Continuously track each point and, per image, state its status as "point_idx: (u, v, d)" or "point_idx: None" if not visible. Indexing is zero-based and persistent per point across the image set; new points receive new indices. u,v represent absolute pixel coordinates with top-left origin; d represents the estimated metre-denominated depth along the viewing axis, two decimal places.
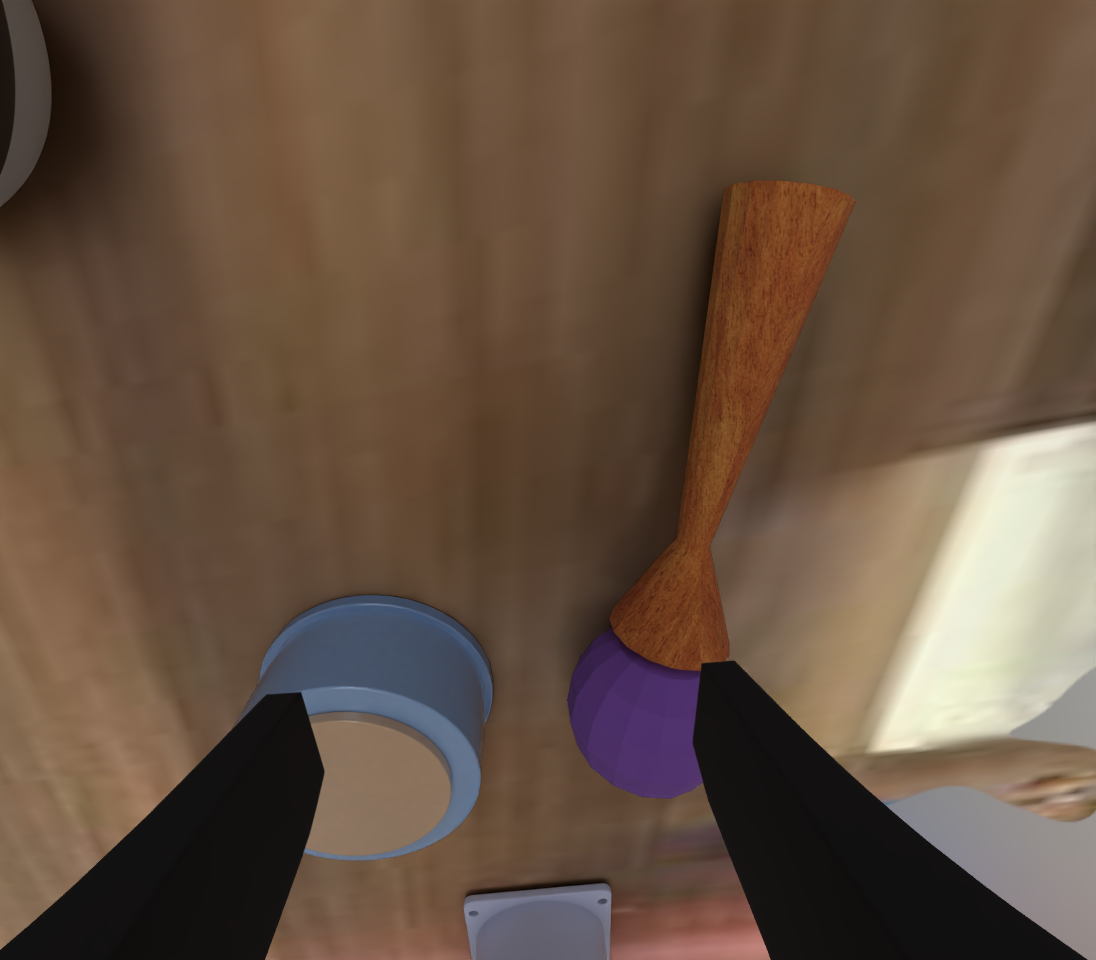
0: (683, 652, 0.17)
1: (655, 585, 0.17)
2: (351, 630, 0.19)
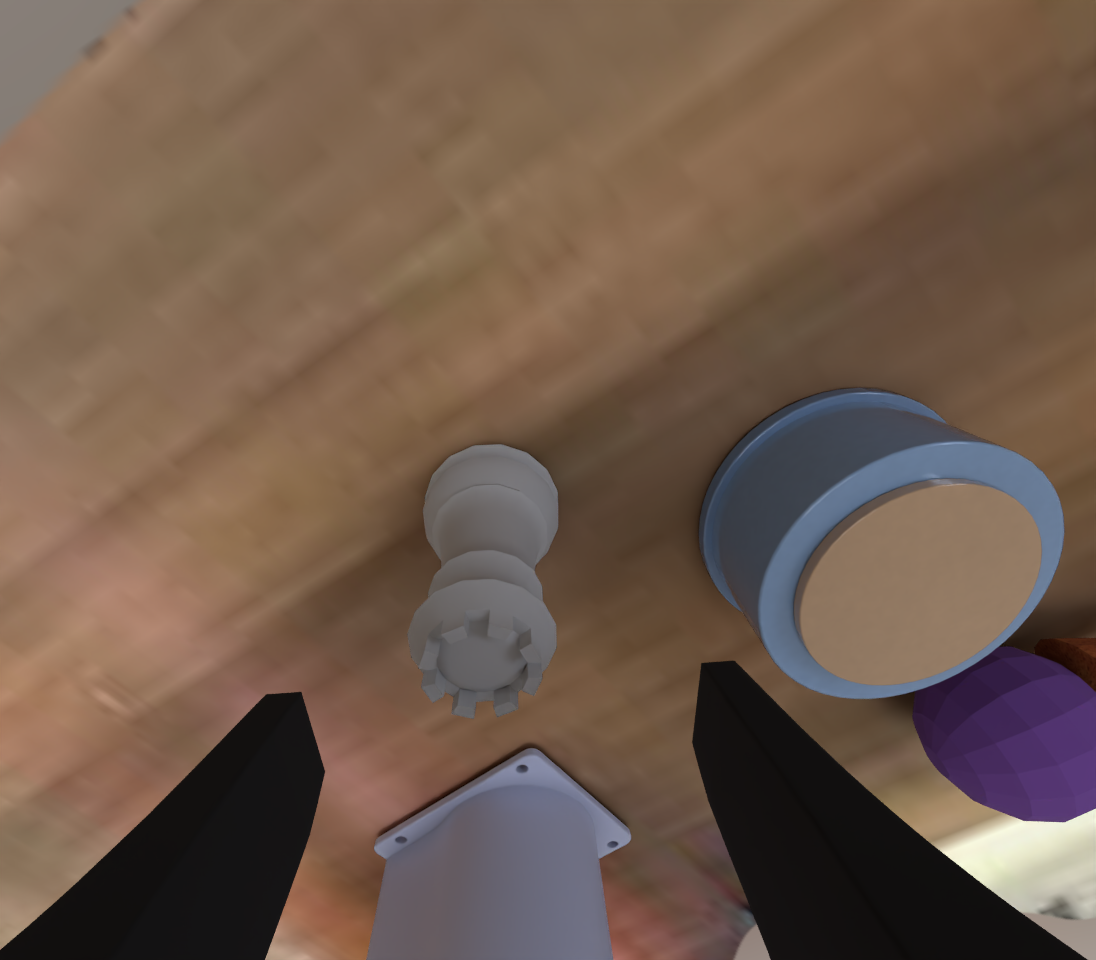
0: None
1: None
2: None
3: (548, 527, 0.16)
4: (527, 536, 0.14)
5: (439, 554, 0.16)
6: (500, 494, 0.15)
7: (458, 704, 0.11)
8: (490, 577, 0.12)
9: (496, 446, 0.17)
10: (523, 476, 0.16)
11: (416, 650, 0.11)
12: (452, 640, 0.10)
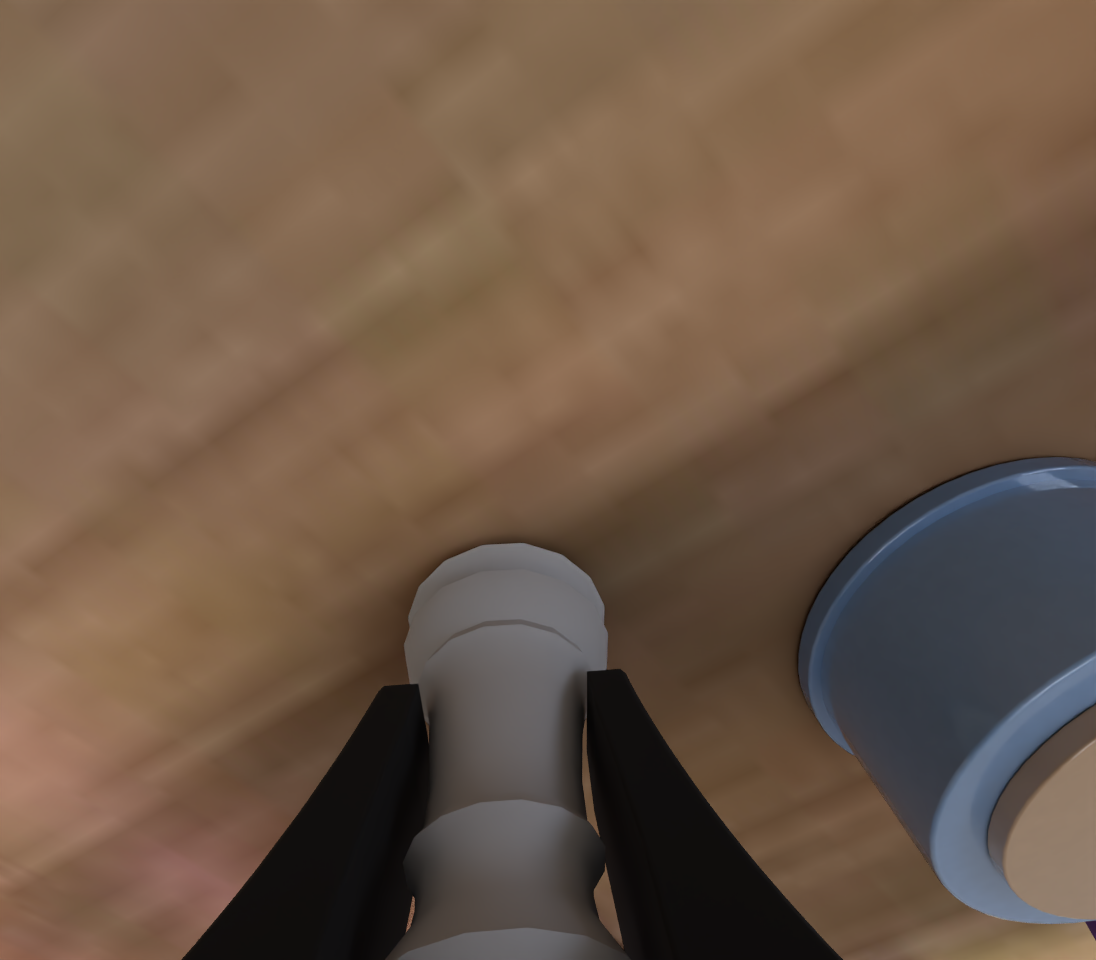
0: None
1: None
2: None
3: None
4: (571, 722, 0.09)
5: (428, 721, 0.10)
6: (524, 641, 0.09)
7: None
8: (518, 878, 0.06)
9: (516, 546, 0.11)
10: (559, 602, 0.10)
11: None
12: None
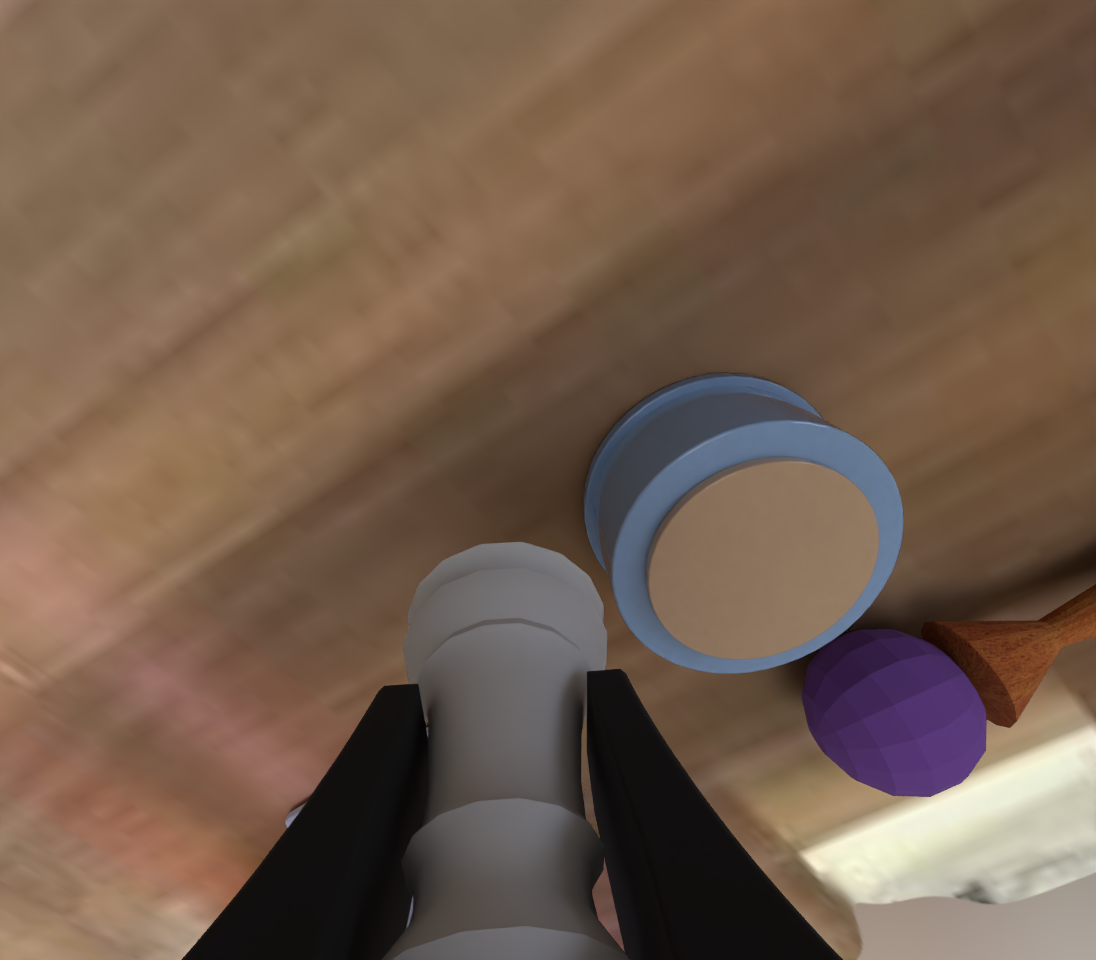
0: (1022, 700, 0.19)
1: (1022, 638, 0.19)
2: None
3: None
4: (570, 720, 0.09)
5: (427, 720, 0.10)
6: (524, 641, 0.09)
7: None
8: (516, 877, 0.06)
9: (515, 545, 0.11)
10: (558, 601, 0.10)
11: None
12: None
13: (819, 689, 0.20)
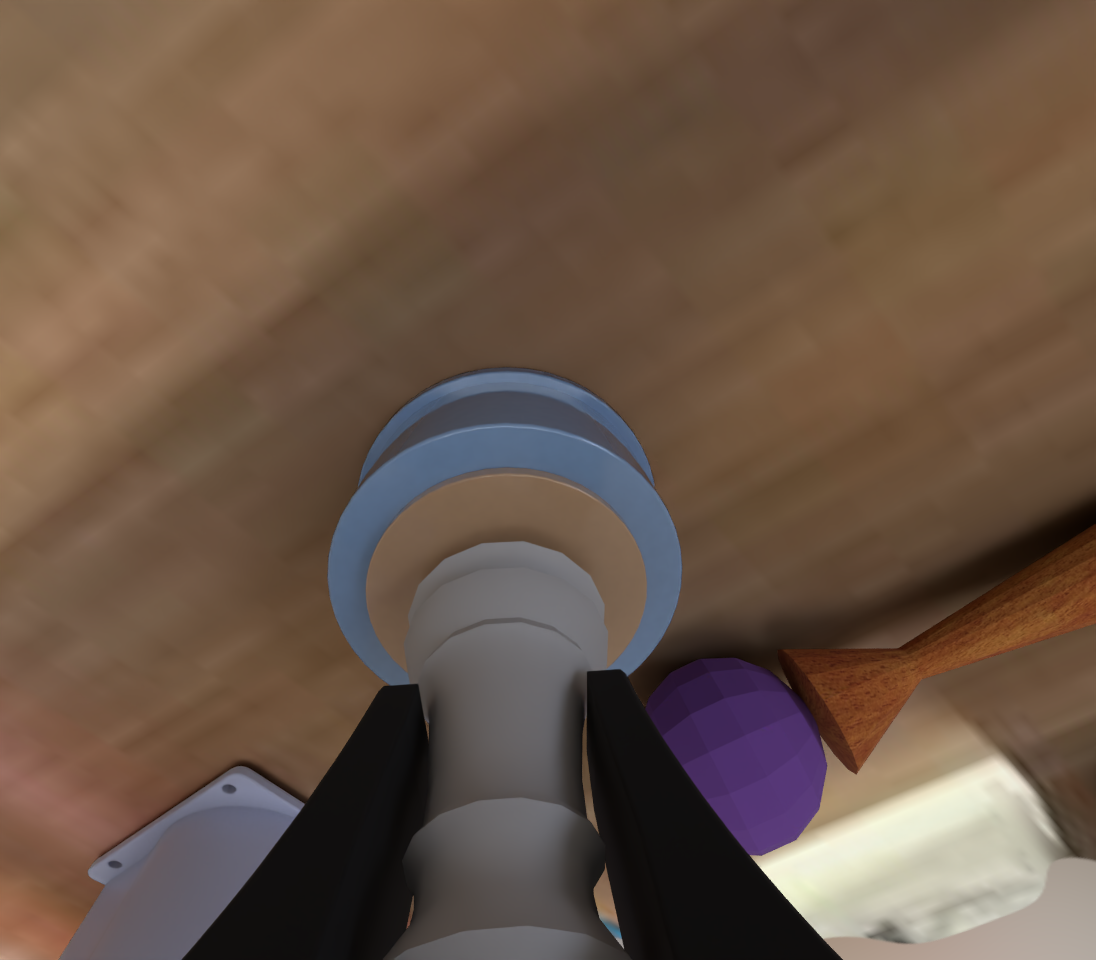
0: (863, 744, 0.16)
1: (872, 671, 0.17)
2: (632, 452, 0.15)
3: None
4: (571, 720, 0.09)
5: (427, 720, 0.10)
6: (524, 640, 0.09)
7: None
8: (518, 876, 0.06)
9: (515, 544, 0.11)
10: (559, 601, 0.10)
11: None
12: None
13: None
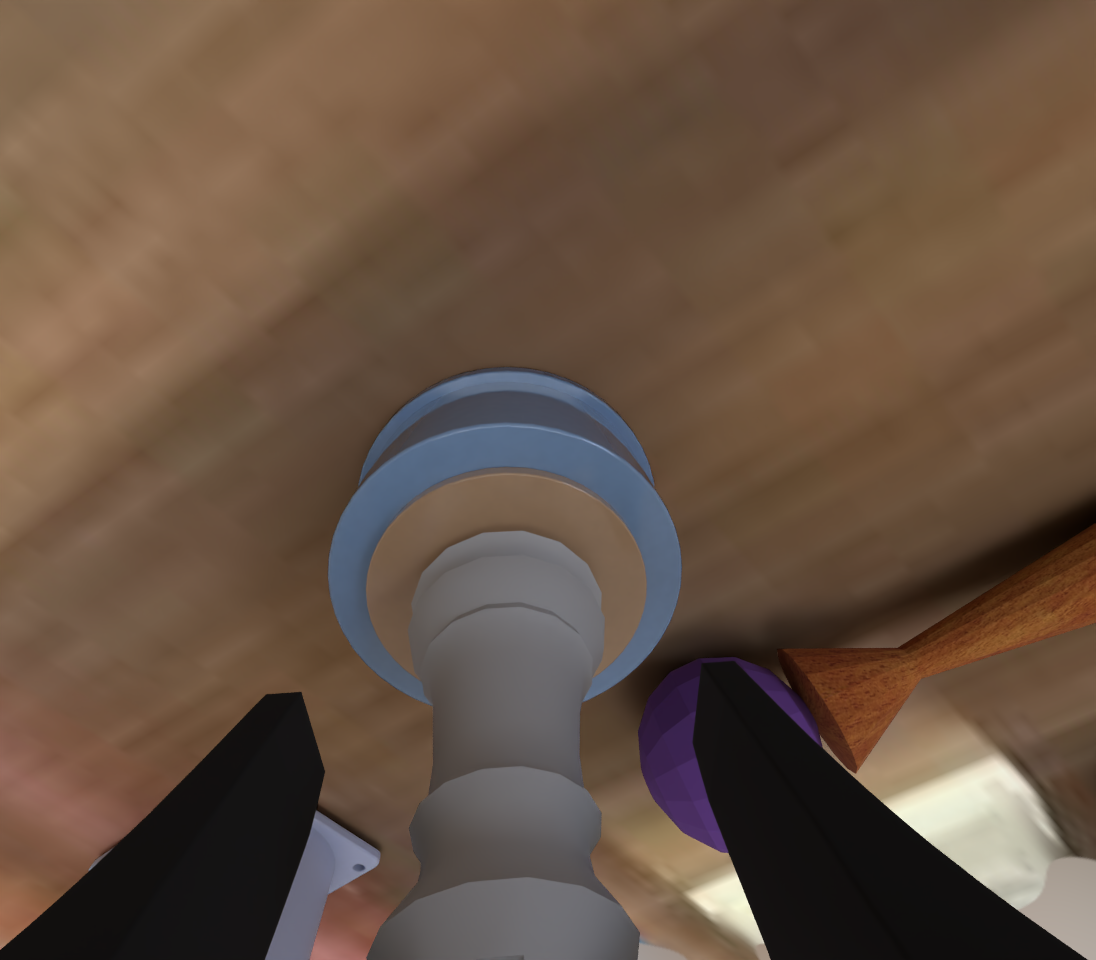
0: (863, 743, 0.16)
1: (871, 670, 0.17)
2: (632, 452, 0.15)
3: (592, 657, 0.11)
4: (569, 698, 0.09)
5: (431, 701, 0.11)
6: (524, 623, 0.10)
7: None
8: (519, 837, 0.06)
9: (515, 534, 0.11)
10: (557, 587, 0.10)
11: None
12: None
13: (646, 728, 0.18)
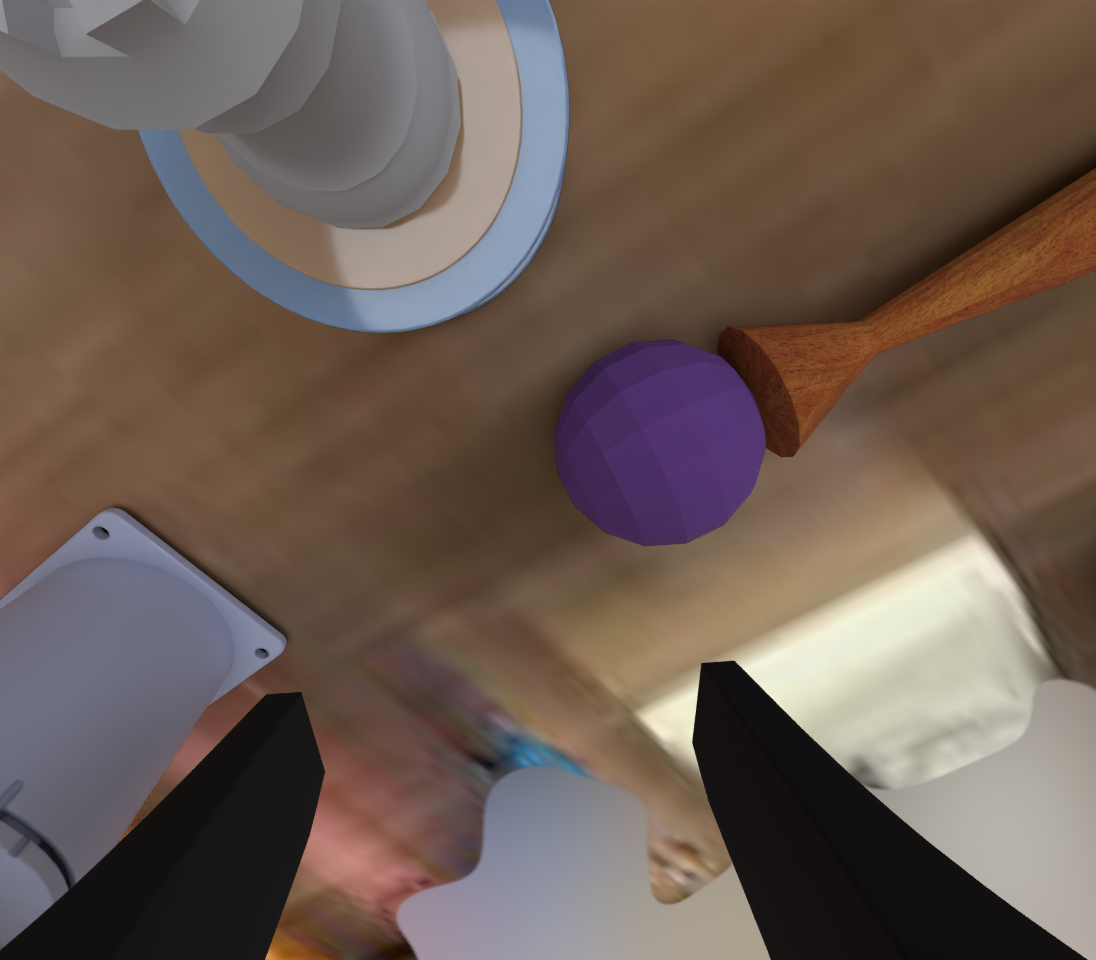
0: (805, 394, 0.14)
1: (818, 330, 0.14)
2: None
3: (424, 75, 0.09)
4: None
5: None
6: None
7: None
8: None
9: None
10: None
11: None
12: None
13: (560, 415, 0.15)
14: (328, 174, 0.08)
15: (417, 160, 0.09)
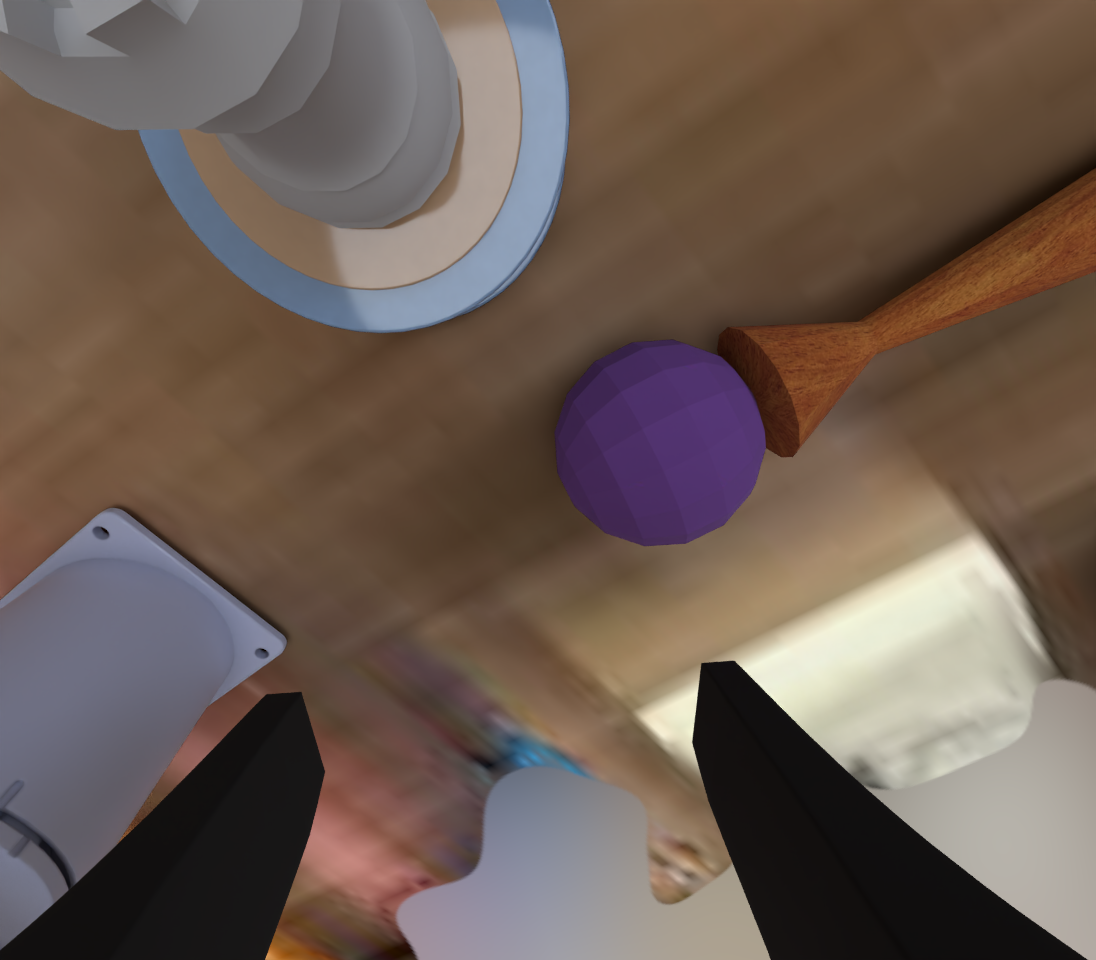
0: (805, 394, 0.14)
1: (818, 330, 0.14)
2: None
3: (424, 75, 0.09)
4: None
5: None
6: None
7: None
8: None
9: None
10: None
11: None
12: None
13: (560, 415, 0.15)
14: (328, 174, 0.08)
15: (417, 160, 0.09)
